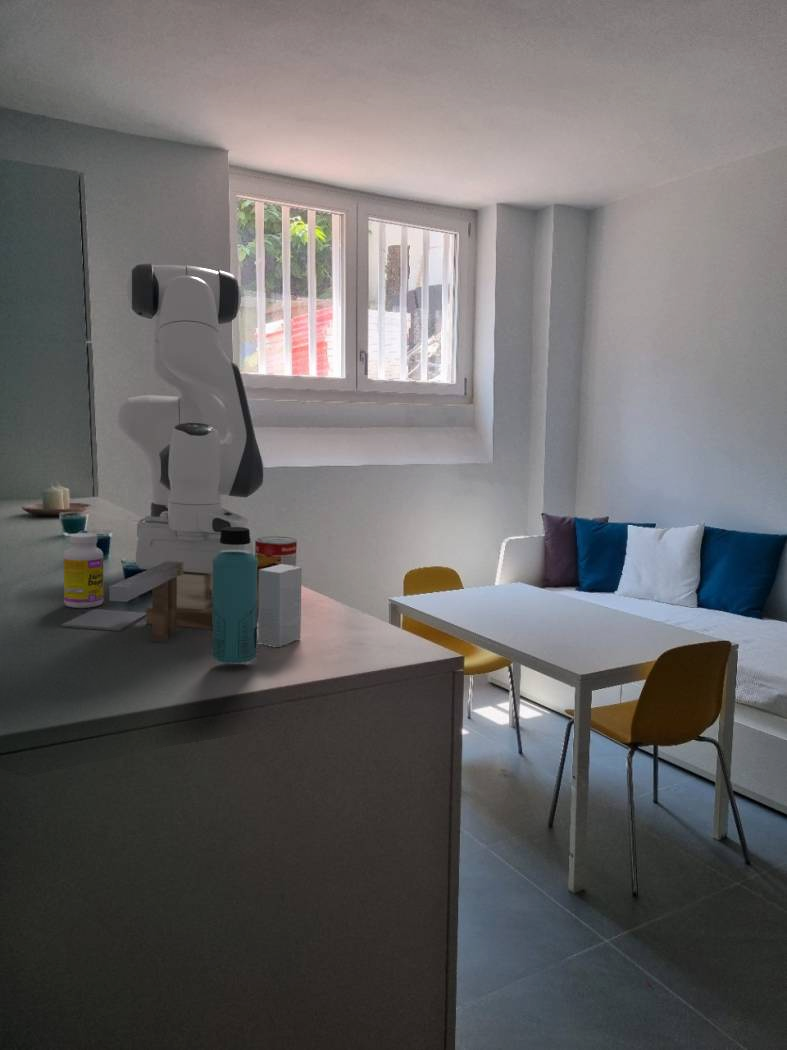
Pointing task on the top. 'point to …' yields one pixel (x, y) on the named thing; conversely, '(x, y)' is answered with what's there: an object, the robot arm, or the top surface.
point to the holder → (173, 613)
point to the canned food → (274, 553)
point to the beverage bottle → (234, 600)
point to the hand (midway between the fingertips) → (194, 597)
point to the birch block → (193, 590)
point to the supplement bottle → (83, 572)
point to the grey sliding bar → (145, 581)
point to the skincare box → (279, 605)
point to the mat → (105, 620)
